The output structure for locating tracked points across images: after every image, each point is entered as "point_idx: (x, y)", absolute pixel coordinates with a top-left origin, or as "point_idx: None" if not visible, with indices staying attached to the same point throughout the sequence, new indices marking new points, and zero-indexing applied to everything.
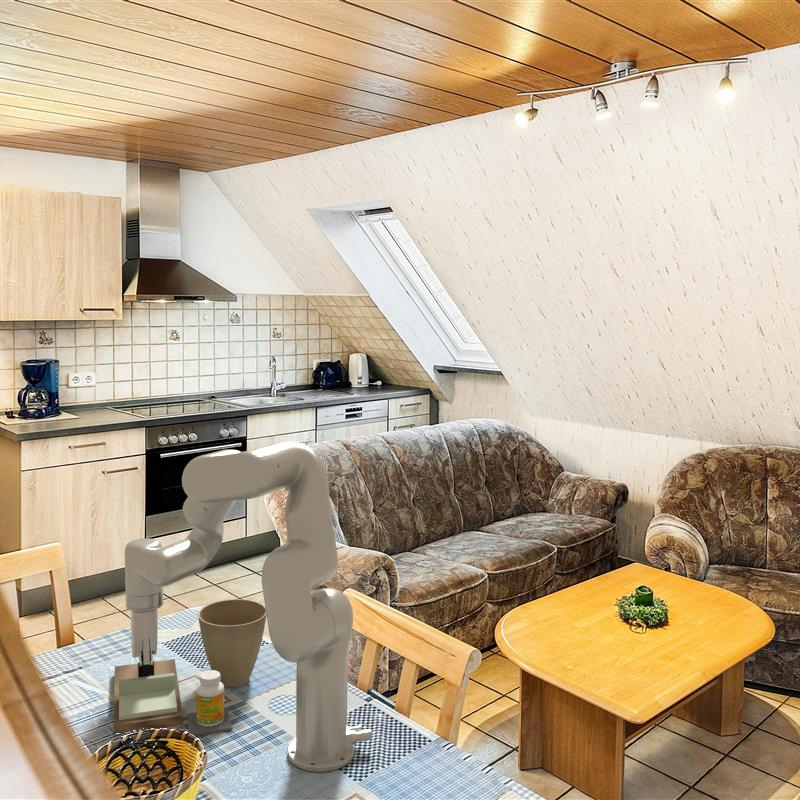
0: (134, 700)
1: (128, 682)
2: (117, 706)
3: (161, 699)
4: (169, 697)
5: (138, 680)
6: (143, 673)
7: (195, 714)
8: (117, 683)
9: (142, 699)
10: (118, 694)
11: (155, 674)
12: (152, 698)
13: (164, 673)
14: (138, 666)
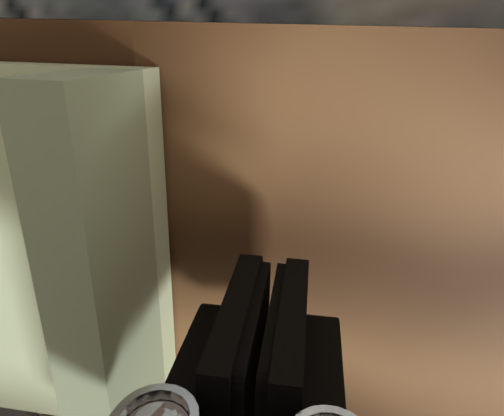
0: (10, 186)
1: (21, 189)
2: (40, 48)
3: (12, 343)
4: (29, 385)
5: (34, 289)
6: (180, 353)
7: (8, 414)
8: (474, 59)
9: (21, 240)
10: (241, 62)
11: (478, 359)
12: (29, 299)
13: (462, 408)
14: (197, 371)
